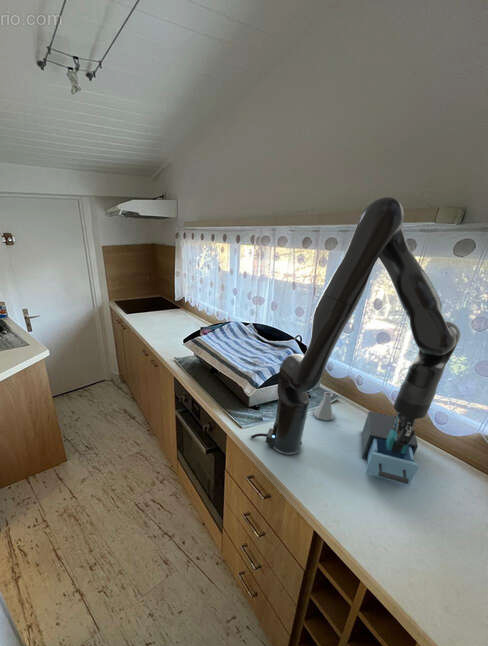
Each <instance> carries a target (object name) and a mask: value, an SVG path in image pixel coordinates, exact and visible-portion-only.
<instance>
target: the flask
mask: <svg viewBox="0 0 488 646" xmlns="http://www.w3.org/2000/svg"><path fill="white" fill-rule="evenodd" d="M333 396H334V394H333V393H332V392H329V391H325V392H323V398H322V401H321V402H320V403H319V404H318V406H317V407H316V408H315V410H314V413H313V415H314V416H315V417H316V418H317V419H319V420H323V421H332V420H333V419H334V414H333V409H332V398H333Z"/></svg>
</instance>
